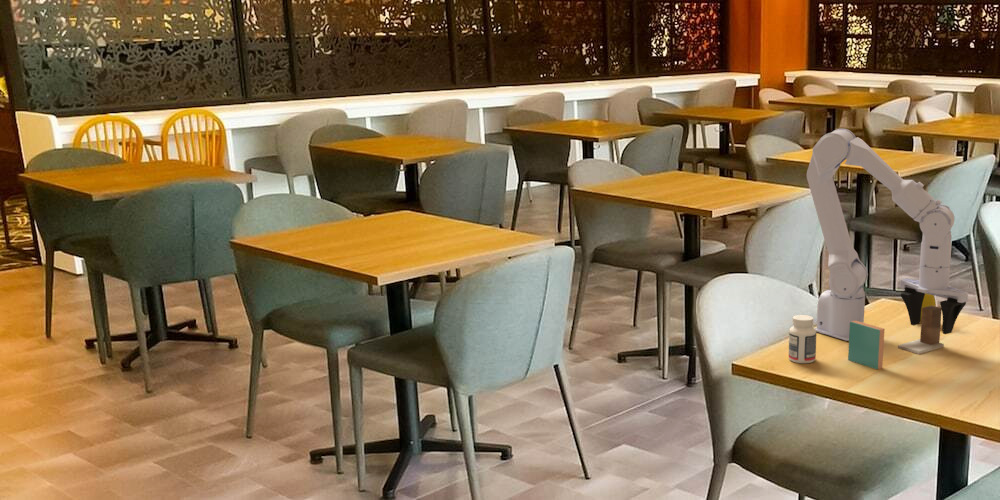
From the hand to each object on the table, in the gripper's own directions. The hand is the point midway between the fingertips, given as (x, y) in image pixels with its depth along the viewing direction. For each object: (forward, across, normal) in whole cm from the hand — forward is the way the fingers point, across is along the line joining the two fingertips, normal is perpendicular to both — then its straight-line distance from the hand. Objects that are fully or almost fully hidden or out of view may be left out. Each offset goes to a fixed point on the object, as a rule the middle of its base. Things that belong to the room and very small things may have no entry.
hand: (930, 328), depth 214 cm
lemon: (+4, -11, +12) cm, 17 cm away
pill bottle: (+4, -9, -28) cm, 30 cm away
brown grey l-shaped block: (+3, 0, -3) cm, 4 cm away
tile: (+3, 0, -20) cm, 20 cm away
